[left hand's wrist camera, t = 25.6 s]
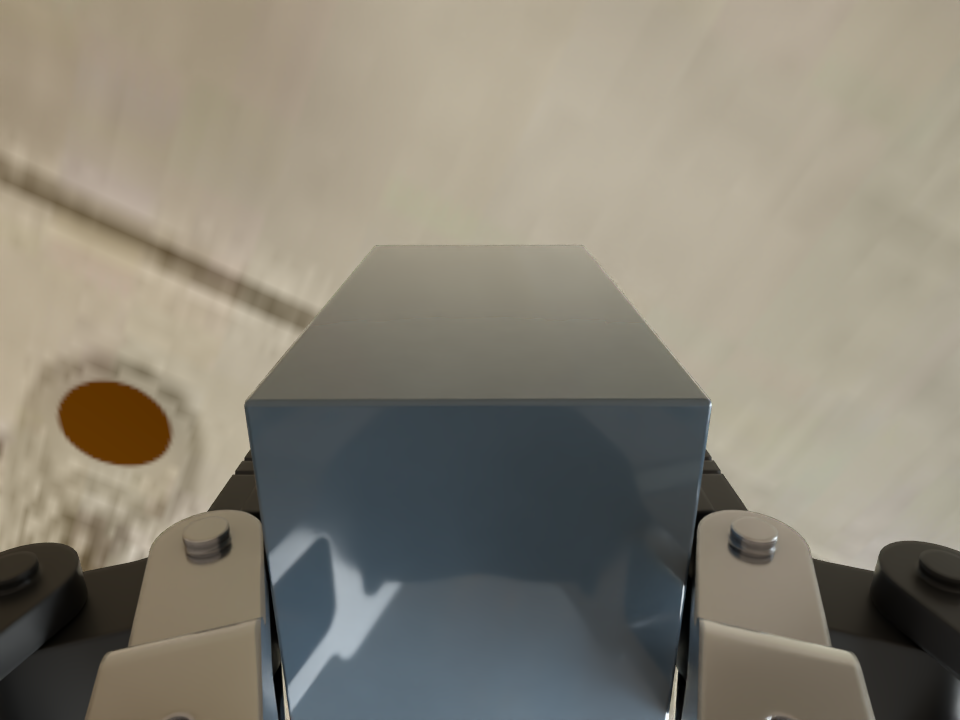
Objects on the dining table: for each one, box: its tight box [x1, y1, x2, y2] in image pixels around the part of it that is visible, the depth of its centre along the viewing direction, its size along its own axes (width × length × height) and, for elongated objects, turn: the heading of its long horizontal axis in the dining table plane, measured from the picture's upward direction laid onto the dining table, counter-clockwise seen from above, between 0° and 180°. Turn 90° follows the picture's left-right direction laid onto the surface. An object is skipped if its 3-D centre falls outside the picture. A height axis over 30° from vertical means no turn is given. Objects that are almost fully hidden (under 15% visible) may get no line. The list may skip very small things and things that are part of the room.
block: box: [244, 245, 712, 720], centre depth 11 cm, size 5×6×8 cm
